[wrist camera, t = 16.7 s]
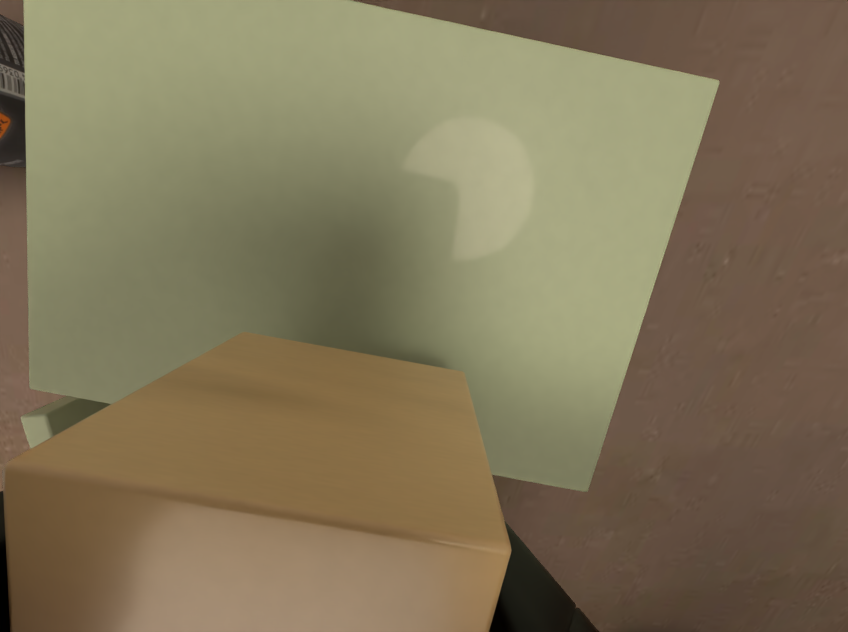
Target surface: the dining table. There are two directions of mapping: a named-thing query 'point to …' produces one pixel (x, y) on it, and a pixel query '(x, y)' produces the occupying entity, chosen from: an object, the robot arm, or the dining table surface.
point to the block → (262, 502)
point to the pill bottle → (12, 94)
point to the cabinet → (350, 202)
